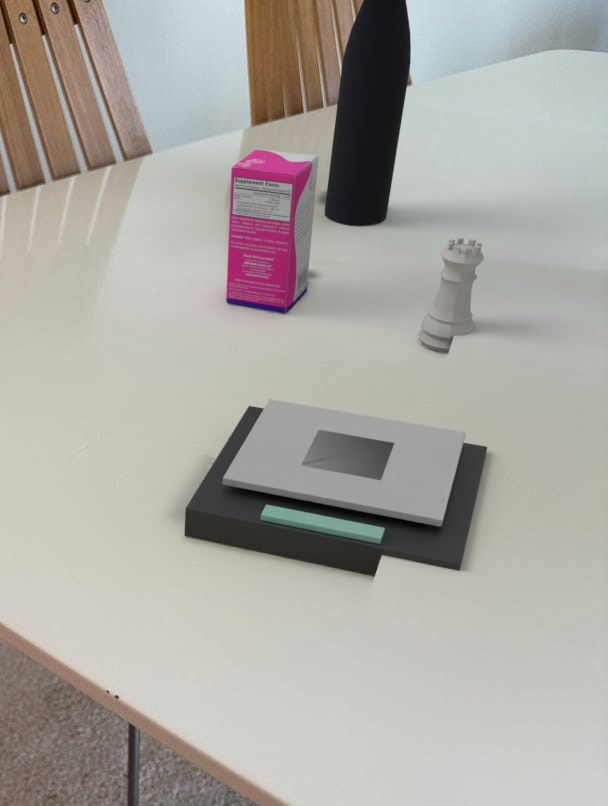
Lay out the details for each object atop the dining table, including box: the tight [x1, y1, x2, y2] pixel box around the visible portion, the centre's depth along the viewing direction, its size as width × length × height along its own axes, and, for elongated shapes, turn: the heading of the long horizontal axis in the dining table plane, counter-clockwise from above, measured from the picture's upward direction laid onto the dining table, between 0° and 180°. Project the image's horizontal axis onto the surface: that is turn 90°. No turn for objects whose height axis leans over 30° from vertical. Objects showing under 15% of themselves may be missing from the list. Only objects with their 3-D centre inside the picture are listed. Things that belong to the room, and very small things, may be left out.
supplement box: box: [225, 148, 319, 315], centre depth 88 cm, size 6×6×12 cm
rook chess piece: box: [417, 237, 485, 354], centre depth 82 cm, size 4×4×8 cm
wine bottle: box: [324, 0, 412, 227], centre depth 99 cm, size 6×6×30 cm
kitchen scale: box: [183, 399, 488, 576], centre depth 65 cm, size 16×14×3 cm
